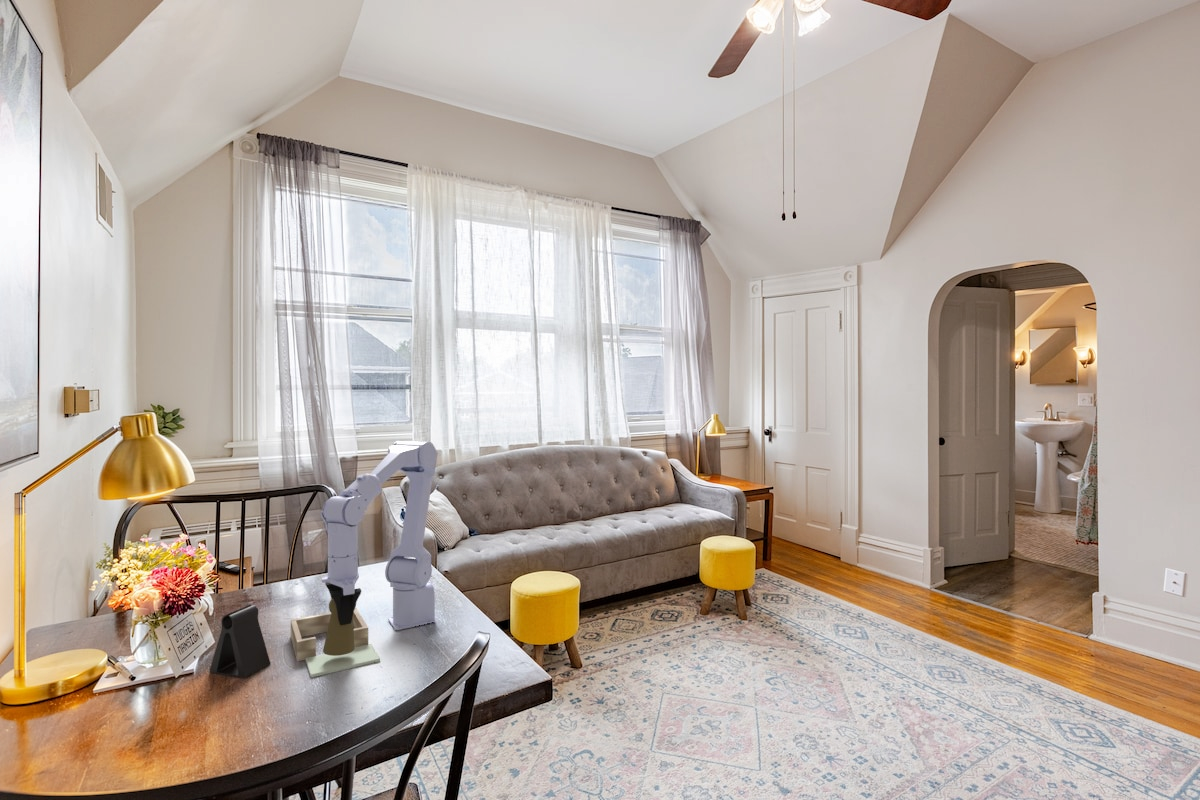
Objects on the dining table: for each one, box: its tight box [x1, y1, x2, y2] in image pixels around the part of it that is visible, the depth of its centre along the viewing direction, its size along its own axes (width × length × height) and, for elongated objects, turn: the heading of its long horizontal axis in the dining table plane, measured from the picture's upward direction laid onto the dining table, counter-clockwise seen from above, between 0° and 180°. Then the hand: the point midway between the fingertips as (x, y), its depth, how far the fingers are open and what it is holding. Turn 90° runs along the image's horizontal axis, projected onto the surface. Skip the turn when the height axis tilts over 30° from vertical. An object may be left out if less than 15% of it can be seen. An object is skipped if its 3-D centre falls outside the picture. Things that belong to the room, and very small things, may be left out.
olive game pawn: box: [322, 598, 357, 656], centre depth 120 cm, size 6×6×11 cm
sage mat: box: [305, 643, 381, 678], centre depth 121 cm, size 13×8×1 cm, turn 123°
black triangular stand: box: [208, 604, 271, 680], centre depth 117 cm, size 9×6×12 cm, turn 75°
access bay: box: [290, 607, 369, 662], centre depth 130 cm, size 14×14×4 cm
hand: (342, 619), depth 120 cm, fingers closed on olive game pawn, 5 cm apart
